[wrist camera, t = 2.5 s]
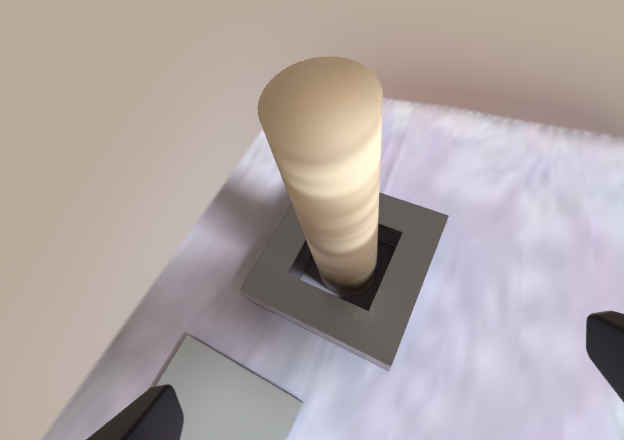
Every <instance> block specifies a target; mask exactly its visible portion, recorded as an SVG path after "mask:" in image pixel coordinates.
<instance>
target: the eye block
mask: <svg viewBox="0 0 624 440" xmlns="http://www.w3.org/2000/svg"><path fill="white" fill-rule="evenodd" d="M447 219H448V215H445V214H442V213H439V212H436V211H433V210H430V209H427V208H424V207H421V206H418V205H415V204H412V203H409V202H406V201H403V200H400V199H397V198H394V197H391V196H388V195H385V194H382V193H379V212H378V241H379V242H382V243H385V244H387V245H390V246H392V247H395V248H396V249H395V252H394V254H393V256H392V259H391V261H390V263H389V265H388V268H387V270H386V272H385V275H384V277H383V279H382V282H381V284H380V286H379V289H378V291H377V293H376V296H375V298H374V300H373V303H372V305H371V307H370V309H369V311H367V310H365V309H362V308H360V307H358V306H356V305H354V304H352V303H349V302H347V301H345V300H343V299H341V298H338V297H336V296H334V295H332V294H330V293H327V292H325V291H323V290H321V289H319V288H317V287H314V286H312V285H310V284H308V283H306V282H303V281H301V280H299V279H300V277H301V275H302V273H303V272H304V270H305V268H306V266H307V264H308V262H309V260H310V258H311V256H312V253H311V251H310V248H309V246H308V243H307V240H306V238H305V235H304V233H303V230H302V228H301V225H300V222H299V220H298V217H297V215H296V212H295V210H294V207H293V204H291V206H290V207H289V209H288V211H287V212H286V214H285V216H284V217H283V219H282V221H281V223H280V224H279V226H278V228H277V229H276V231H275V233H274V234H273V236H272V238H271V240H270V241H269V243H268V245H267V246H266V248H265V250H264V251H263V253H262V255H261V256H260V258H259V260H258V262H257V263H256V265H255V267H254V268H253V270H252V272H251V273H250V275H249V277H248V278H247V280H246V282H245V284H244V285H243V287H242V289H241V290H240V291H241V292H242V293H243V294H244V295H245V296H247V297H248V298H249V299H250V300H251V301H252V302H253V303H255V304H257V305H259V306H261V307H263V308H265V309H267V310H269V311H271V312H273V313H275V314H277V315H279V316H281V317H283V318H285V319H287V320H289V321H291V322H293V323H295V324H297V325H299V326H301V327H303V328H305V329H307V330H309V331H311V332H313V333H315V334H317V335H318V336H320V337H322V338H324V339H326V340H328V341H330V342H332V343H334V344H336V345H338V346H340V347H342V348H344V349H346V350H348V351H350V352H352V353H354V354H356V355H358V356H360V357H362V358H364V359H366V360H368V361H370V362H372V363H374V364H376V365H378V366H380V367H382V368H383V369H385V370H387V371H389V370H390V368H391V365H392V363H393V360H394V357H395V355H396V352H397V350H398V347H399V344H400V342H401V339H402V337H403V334H404V331H405V329H406V326H407V323H408V321H409V318H410V316H411V313H412V310H413V308H414V305H415V303H416V300H417V297H418V295H419V292H420V290H421V287H422V284H423V282H424V279H425V276H426V274H427V271H428V269H429V266H430V263H431V261H432V258H433V256H434V253H435V250H436V248H437V245H438V242H439V240H440V237H441V235H442V232H443V229H444V227H445V224H446V222H447Z"/></svg>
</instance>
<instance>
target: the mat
mask: <svg viewBox="0 0 624 440" xmlns="http://www.w3.org/2000/svg"><path fill="white" fill-rule="evenodd" d="M165 384H170V385H172V386H173V388H174V390H175V392H176V395H177V397H178V400H179V403H180V405H181V408H182V410H183V414H184V424H183V429H182V433H181V438H180V440H287V438H288V435H289V433H290V431H291V429H292V427H293V424H294V422H295V420H296V418H297V416H298V414H299V411H300V409H301V407H302V405H303V402H302V401H300V400H298V399H297V398H295V397H293V396H291V395H290V394H288V393H286V392H285V391H283V390H281V389H280V388H278V387H276V386H274V385H273V384H271V383H269V382H268V381H266V380H264V379H263V378H261V377H259V376H257V375H256V374H254V373H252V372H251V371H249V370H247V369H246V368H244V367H242V366H240V365H239V364H237V363H235V362H234V361H232V360H230V359H229V358H227V357H225V356H223V355H222V354H220V353H218V352H217V351H215V350H213V349H212V348H210V347H208V346H207V345H205V344H203V343H201V342H200V341H198V340H196V339H195V338H193V337H191V336H189V335H187V336H186V338H185V339H184V341H183V343H182V344H181V346H180V347H179V349H178V351H177V352H176V354H175V355H174V357H173V359H172V360H171V362H170V364H169V365H168V367H167V368H166V370H165V372H164V373H163V375H162V376H161V378H160V380H159V381H158V383H157V385H156V386H159V385H165Z"/></svg>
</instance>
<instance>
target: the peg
mask: <svg viewBox="0 0 624 440" xmlns="http://www.w3.org/2000/svg"><path fill="white" fill-rule="evenodd" d="M382 99H383V94H382V88H381V85H380V82H379V80H378V78H377V77H376V76H375V75H374V73H373V72H372V71H371V70H370V69H368V68H367V67H365V66H364V65H362V64H360V63H358V62H356V61H353V60H350V59H346V58H340V57H318V58H312V59H308V60H304V61H301V62H298V63H296V64H293V65H291V66H290V67H288V68H286V69H284V70H283V71H281V72H280V73H279V74H277V75H276V76H275V77H274V78H273V79H272V80H271V81H270V82H269V83H268V84H267V85H266V87H265V88H264V90H263V92H262V94H261V96H260V99H259V103H258V116H259V120H260V122H261V125H262V127H263V130H264V133H265V135H266V138H267V140H268V143H269V145H270V148H271V151H272V153H273V156H274V158H275V161H276V163H277V166H278V168H279V171H280V174H281V176H282V179H283V181H284V184H285V186H286V189H287V192H288V194H289V197H290V199H291V202H292V204H293V207H294V210H295V212H296V215H297V217H298V220H299V222H300V225H301V228H302V230H303V233H304V235H305V238H306V240H307V243H308V246H309V248H310V251H311V253H312V256H313V258H314V261H315V263H316V266H317V269H318V271H319V274H320V276H321V279H322V281H323V283H324V284H325V286H326V287H327V288H328V289H329V290H331V291H332V292H334V293H336V294H338V295H342V296H354V295H357V294H360V293H362V292H364V291H365V290H366V289H368V288H369V287H370V286H371V284H372V283H373V281H374V279H375V276H376V269H377V241H378V212H379V184H380V155H381V127H382Z"/></svg>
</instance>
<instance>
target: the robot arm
mask: <svg viewBox="0 0 624 440" xmlns="http://www.w3.org/2000/svg"><path fill="white" fill-rule="evenodd" d="M586 349H587V353H588V355H589V357H590V359H591V360H592V362H593V363H594V364H595V366H596V367H597V368H598V370H599V371H600V372H601V374H602V375H603V376H604V377H605V379H606V380H607V381H608V383H609V384H610V385H611V386H612V388H613V389H614V390H615V392H616V393H617V394H618V396H619V397H620V398H621V399H622V401H623V402H624V314H622V313H618V312H615V311H604V312H598V313H592V314H590V315H589V316H588V318H587V324H586ZM183 424H184V414H183V410H182V408H181V405H180V403H179V400H178V397H177V395H176V392H175V390H174V388H173V386H172V385H170V384H165V385H159V386H154V387H151V388H150V389H149V390H147V391H146V392H145V393H144V394H142V395H141V396H140V397H139V398H137V399H136V400H135V401H134V402H132V403H131V404H130V405H129V406H127V407H126V408H125V409H124V410H123V411H121V412H120V413H119V414H118V415H116V416H115V417H114V418H113V419H111V420H110V421H109V422H108V423H106V424H105V425H104V426H103V427H101V428H100V429H99V430H98V431H96V432H95V433H94V434H93V435H92V436H90V437H89V438H88V439H87V440H180V438H181V433H182V429H183Z"/></svg>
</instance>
